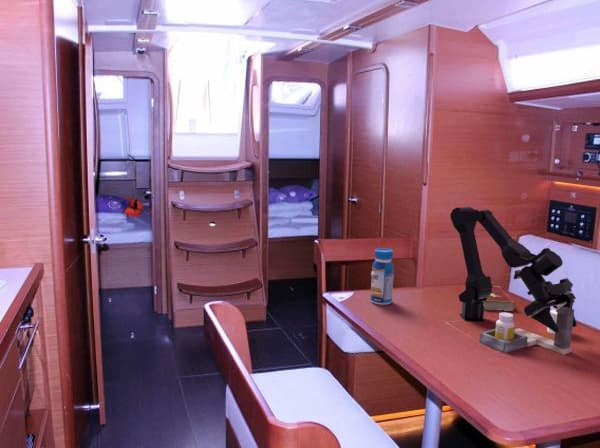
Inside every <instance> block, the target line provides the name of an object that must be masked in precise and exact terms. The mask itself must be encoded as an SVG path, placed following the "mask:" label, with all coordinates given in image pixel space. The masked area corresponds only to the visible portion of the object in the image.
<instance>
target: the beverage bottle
mask: <svg viewBox="0 0 600 448" xmlns="http://www.w3.org/2000/svg"><path fill="white" fill-rule="evenodd" d="M393 257H394V251H393V249H390V248H385V247H383V248H382V247H380V248H379V247H378V248H376V249H374V259H375V260H374V261H373V262H372V265H371V269H372V271H371V273H370V276H371V284H370V285H371V287H370V302H371V303H373V304H376V305H382V306H384V305H390V304H391V303H393V285H394V278H395V274H394V270H395V266H394V264H393V262H392V261H393Z"/></svg>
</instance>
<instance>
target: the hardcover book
mask: <svg viewBox="0 0 600 448" xmlns="http://www.w3.org/2000/svg"><path fill="white" fill-rule="evenodd" d="M492 286H493V288H492V293H491V294H490V296H489V297H488V298H487V300H486V301H483V306H484V311H485V310H487V311H501V310H504V311H503V312H505V311H508V312H509V311H510V312H511V311H512V312H515V308H516V307H515V306H516V304H515V302H514V301H513V299H512V298H511V297H510V296H509V295H508V294H507V292H505V291H504V289H503V288H502V287H501V286H500V285H499V286H498V285H492Z"/></svg>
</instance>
